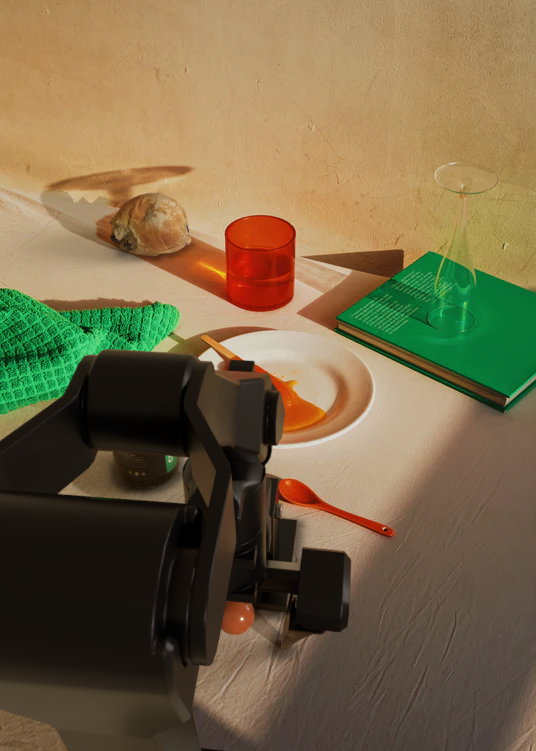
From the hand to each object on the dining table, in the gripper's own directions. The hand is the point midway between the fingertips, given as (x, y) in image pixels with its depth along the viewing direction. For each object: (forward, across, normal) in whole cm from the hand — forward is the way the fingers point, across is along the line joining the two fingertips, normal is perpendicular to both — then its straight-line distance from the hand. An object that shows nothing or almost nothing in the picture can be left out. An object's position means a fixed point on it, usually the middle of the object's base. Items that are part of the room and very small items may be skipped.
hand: (232, 639), depth 63 cm
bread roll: (+2, +26, -70) cm, 75 cm away
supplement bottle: (+1, +12, -20) cm, 23 cm away
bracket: (0, 0, -8) cm, 8 cm away
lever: (-4, 0, -5) cm, 6 cm away
